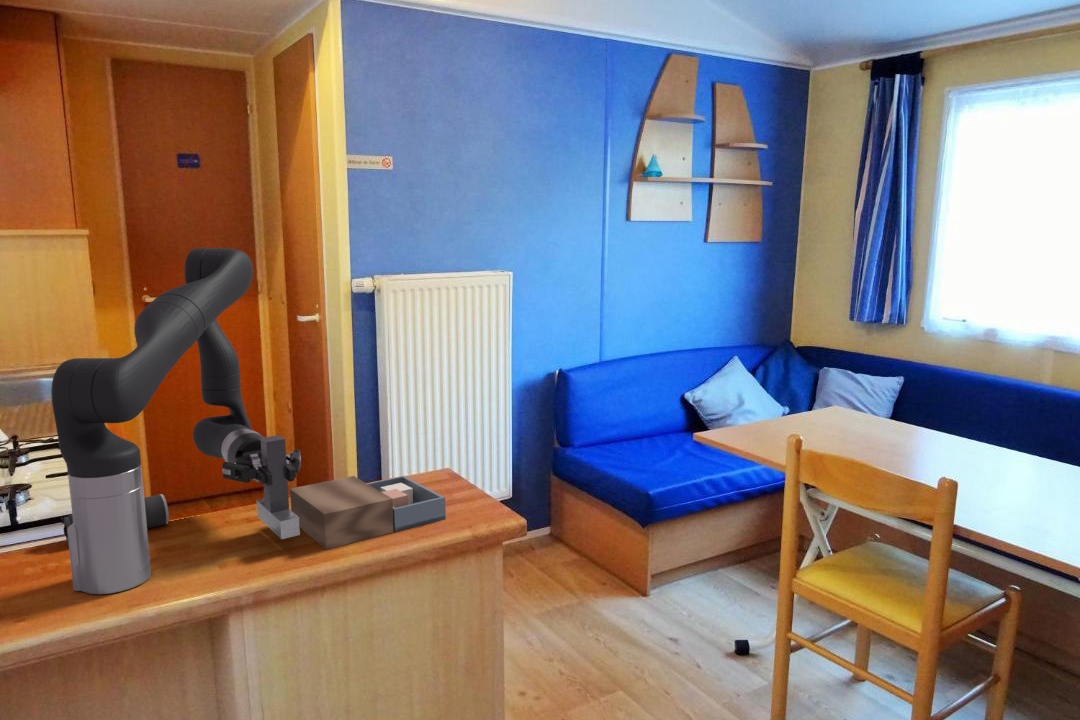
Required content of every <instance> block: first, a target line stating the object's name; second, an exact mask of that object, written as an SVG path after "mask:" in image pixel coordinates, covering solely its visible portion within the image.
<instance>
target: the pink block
mask: <svg viewBox="0 0 1080 720" xmlns="http://www.w3.org/2000/svg"><path fill="white" fill-rule="evenodd" d="M382 493H383V494H385V495H387V496H389V497H390V498H392V503H393V506H394V507H395V508H397V507H402V506H406V505H408V495H407V494H405V493H403V492H401V491H399V490H398V489H393V490H389V491H384V492H382Z"/></svg>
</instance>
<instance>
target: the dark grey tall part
mask: <svg viewBox="0 0 1080 720" xmlns="http://www.w3.org/2000/svg"><path fill="white" fill-rule="evenodd" d="M263 437H264V438H261V454H262V467H264V468H266V469H267V470H269V471H270V472H271V474H272V485H270V486H267V485H265V484H263V498H260V499H256V511H257V518H258V519H259V520H261V521H262V523H264V524H265V526H267V527H268V528H269V529H270V530H271V531H272V532H273V533H274V534H275V535H276V536H277V537H278V538H279V539H280V540H285V539H289V538H292V537H293V538H294V537H297V536H300V535H301V531H300V530H301V528H300V527H299V517H298V516H297V515H296V514H294V513H293V512H292V511H291V508H290V500H289V498H290V497H289V483H288V482H289V481H288V480H287V470H286V467H287V463H286V455H287V451H286V450H287V449H286V438H285V437H283V436H281V435H280V434H277V435H271V436H263Z"/></svg>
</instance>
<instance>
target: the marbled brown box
mask: <svg viewBox="0 0 1080 720" xmlns="http://www.w3.org/2000/svg"><path fill="white" fill-rule="evenodd" d="M367 483H368V482H367ZM367 483H366V482H365V481H363V480H361V479H360V478H358V477H356V476H354V475H352V476H351V475H350V476H346V477H342V478H341V477H340V478H336V479H332V480H326V481H322V482H318V483H312V484H307V485H302V486H297V487H293V488H290V489H289V494H290V497H289V498H290V510H291V511H292V512H293V513H294V514H296V515H297V516H298V517H299V527H300V530H302V531H303V532H304V533H305V534H307V535H308V536H309V537H310V538H312V539H313V540H314V541H316V543H317V544H319V545H320V546H321V547H323V548H324V549H325V550H329V549H333V548H338V547H342V546H346V545H349V544H353V543H357V542H362V541H365V540H369V539H373V538H378V537H380V536H384V535H388V534H392V533H394V532H395V531H393V503H392V498H390V497H389V496H387V495H385V494H383V493H382V492H380V491H378V490H377V489H375V488H373V487H372V486H370V485H368V484H367Z"/></svg>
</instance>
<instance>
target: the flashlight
mask: <svg viewBox="0 0 1080 720" xmlns="http://www.w3.org/2000/svg"><path fill="white" fill-rule="evenodd" d="M144 500H145V511H146V522H147V529H152V528H156V527H160V526H161V527H162V526H164V525H169V519H170V515H169V508H168V507H169V506H168V503H167V500H166V497H165V495H164V494H163V493H160V494H156V495H152V496H147V497H145V496H144ZM167 522H168V523H167ZM72 524H73V516H72V513H71V514H69V515H68V516H65V517H63V533H64V534H63V535H64V536H65V539H66V542H67V544H68V546H69V543H68V534H67V529H68V527H69V526H70V525H72Z"/></svg>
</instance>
